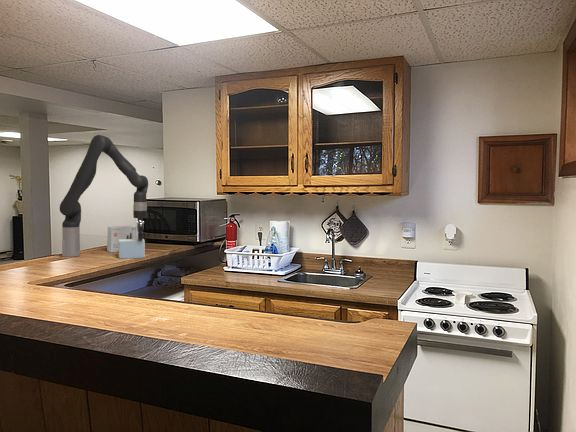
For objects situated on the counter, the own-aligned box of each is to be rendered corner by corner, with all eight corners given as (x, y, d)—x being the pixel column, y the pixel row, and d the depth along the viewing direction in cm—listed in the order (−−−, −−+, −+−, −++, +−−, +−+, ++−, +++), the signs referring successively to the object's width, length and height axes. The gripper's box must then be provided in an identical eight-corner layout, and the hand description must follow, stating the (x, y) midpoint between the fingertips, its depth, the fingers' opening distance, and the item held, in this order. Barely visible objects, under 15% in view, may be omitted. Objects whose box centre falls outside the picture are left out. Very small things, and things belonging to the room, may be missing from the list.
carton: (119, 258, 256) (119, 241, 255) (118, 255, 265) (118, 239, 264) (144, 257, 261) (144, 240, 260) (143, 254, 270) (143, 238, 270)
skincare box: (111, 252, 277) (111, 227, 276) (106, 251, 280) (106, 226, 279) (140, 249, 293) (140, 225, 292) (136, 248, 297) (135, 224, 296)
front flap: (119, 258, 255) (119, 231, 254) (119, 258, 256) (119, 231, 255) (144, 257, 260) (144, 230, 259) (144, 257, 261) (144, 230, 260)
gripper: (132, 209, 263) (132, 237, 264) (134, 210, 250) (134, 240, 251) (145, 209, 266) (145, 237, 267) (147, 210, 253) (148, 240, 254)
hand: (140, 238), depth 259 cm, fingers open, 3 cm apart
